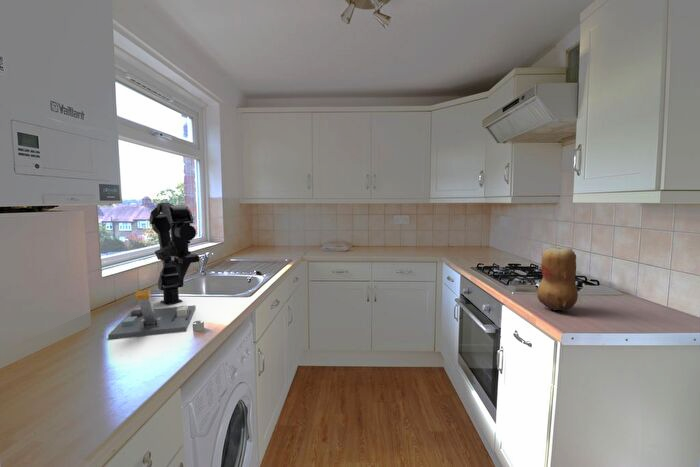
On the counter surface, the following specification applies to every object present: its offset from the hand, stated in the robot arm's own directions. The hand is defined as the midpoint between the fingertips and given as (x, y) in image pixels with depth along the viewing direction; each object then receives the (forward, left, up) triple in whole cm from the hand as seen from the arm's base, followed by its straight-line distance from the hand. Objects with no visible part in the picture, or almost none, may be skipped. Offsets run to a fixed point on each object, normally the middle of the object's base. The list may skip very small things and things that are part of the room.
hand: (181, 278), depth 130 cm
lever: (+12, -15, -10) cm, 22 cm away
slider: (+9, -4, -12) cm, 16 cm away
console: (+5, -11, -13) cm, 18 cm away
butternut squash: (+111, +95, -13) cm, 147 cm away
